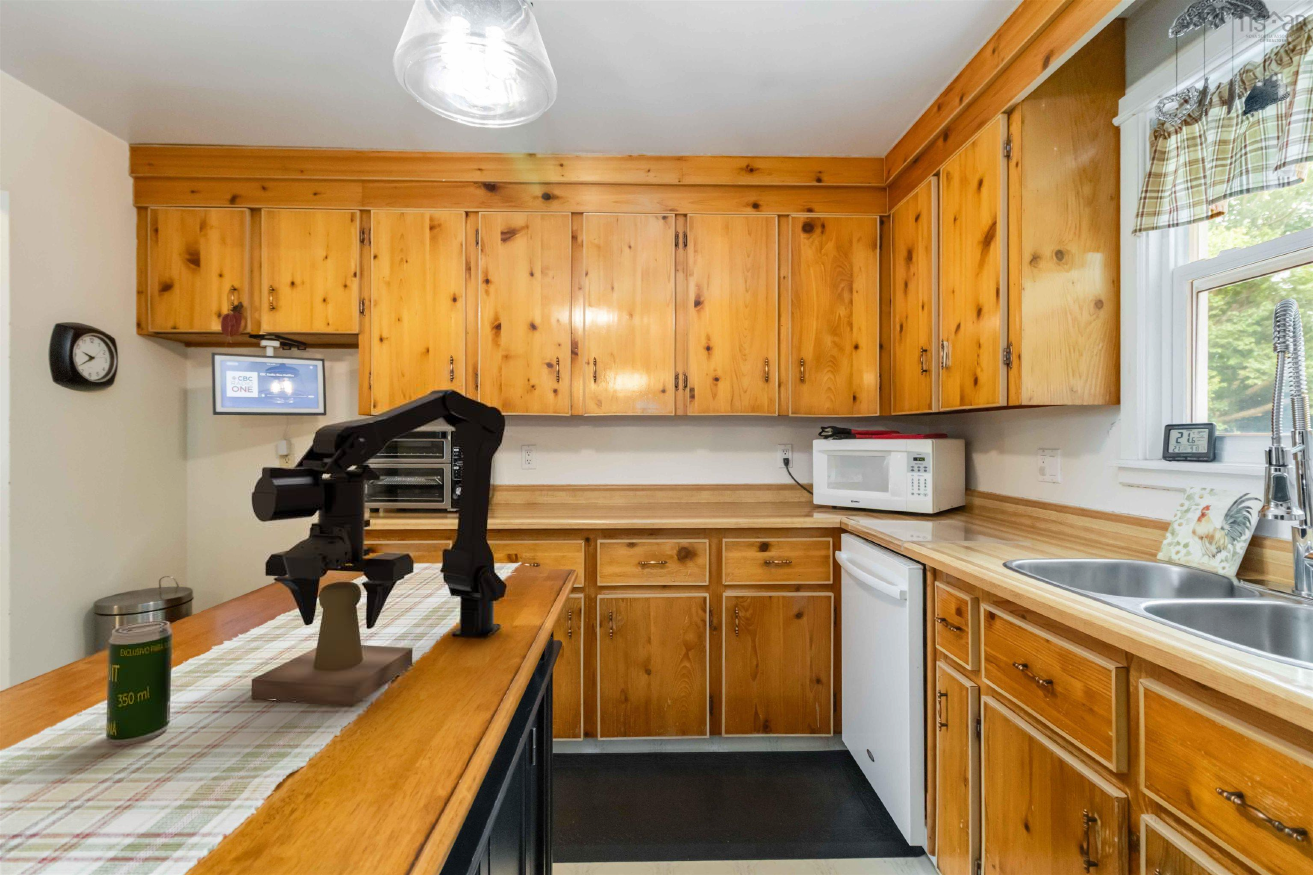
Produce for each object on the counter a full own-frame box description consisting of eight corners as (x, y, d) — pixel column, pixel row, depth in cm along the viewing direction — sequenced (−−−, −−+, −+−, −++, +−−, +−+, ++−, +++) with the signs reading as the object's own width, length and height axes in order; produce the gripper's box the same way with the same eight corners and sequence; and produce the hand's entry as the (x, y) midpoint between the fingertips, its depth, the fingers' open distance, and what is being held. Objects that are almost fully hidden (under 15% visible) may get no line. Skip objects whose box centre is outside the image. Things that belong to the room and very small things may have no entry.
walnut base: (325, 659, 89) (325, 642, 89) (412, 664, 87) (412, 647, 87) (251, 698, 75) (251, 679, 75) (352, 706, 73) (353, 686, 73)
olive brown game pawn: (341, 672, 77) (343, 589, 77) (302, 668, 79) (304, 586, 79) (372, 656, 83) (374, 579, 83) (336, 652, 84) (338, 576, 85)
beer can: (164, 718, 69) (167, 617, 69) (174, 733, 66) (177, 626, 66) (102, 735, 65) (105, 627, 65) (109, 752, 62) (113, 638, 62)
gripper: (232, 519, 74) (229, 642, 74) (369, 524, 72) (366, 650, 72) (296, 509, 85) (293, 616, 85) (416, 513, 83) (414, 623, 83)
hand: (339, 626), depth 81 cm, fingers open, 9 cm apart
